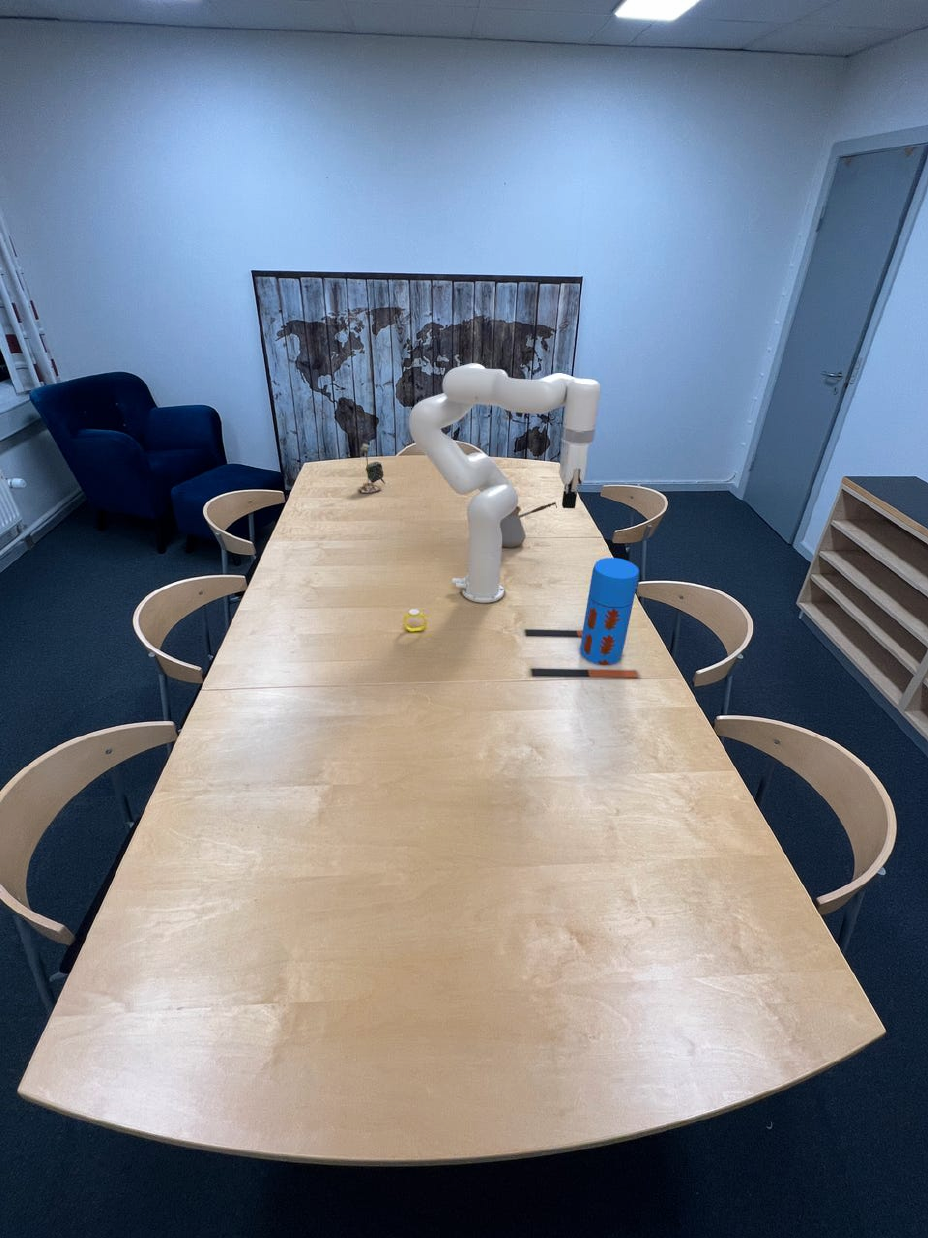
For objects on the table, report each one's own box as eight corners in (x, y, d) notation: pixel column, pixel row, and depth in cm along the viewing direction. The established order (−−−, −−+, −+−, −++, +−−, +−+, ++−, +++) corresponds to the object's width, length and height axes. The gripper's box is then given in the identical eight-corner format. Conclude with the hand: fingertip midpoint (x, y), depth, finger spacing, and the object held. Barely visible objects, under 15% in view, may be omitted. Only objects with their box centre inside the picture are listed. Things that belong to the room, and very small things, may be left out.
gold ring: (426, 627, 167) (425, 608, 164) (426, 632, 165) (426, 614, 162) (403, 627, 167) (403, 609, 163) (404, 633, 164) (403, 614, 161)
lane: (532, 676, 150) (532, 674, 150) (525, 630, 167) (525, 629, 167) (637, 678, 151) (638, 676, 151) (619, 632, 168) (620, 631, 168)
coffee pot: (494, 550, 208) (497, 509, 200) (490, 535, 217) (492, 495, 209) (556, 549, 210) (561, 508, 202) (549, 535, 219) (553, 495, 211)
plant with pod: (386, 493, 248) (384, 444, 238) (357, 494, 247) (354, 444, 236) (385, 486, 255) (383, 438, 244) (357, 486, 254) (354, 438, 243)
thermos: (624, 667, 155) (643, 580, 141) (581, 663, 155) (596, 577, 142) (618, 642, 164) (635, 558, 150) (578, 639, 164) (591, 556, 151)
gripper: (558, 425, 152) (550, 495, 162) (566, 443, 140) (557, 518, 150) (588, 426, 152) (578, 496, 162) (599, 444, 140) (587, 519, 150)
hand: (568, 506), depth 156 cm, fingers closed
